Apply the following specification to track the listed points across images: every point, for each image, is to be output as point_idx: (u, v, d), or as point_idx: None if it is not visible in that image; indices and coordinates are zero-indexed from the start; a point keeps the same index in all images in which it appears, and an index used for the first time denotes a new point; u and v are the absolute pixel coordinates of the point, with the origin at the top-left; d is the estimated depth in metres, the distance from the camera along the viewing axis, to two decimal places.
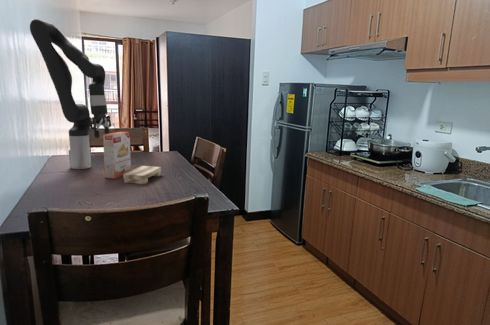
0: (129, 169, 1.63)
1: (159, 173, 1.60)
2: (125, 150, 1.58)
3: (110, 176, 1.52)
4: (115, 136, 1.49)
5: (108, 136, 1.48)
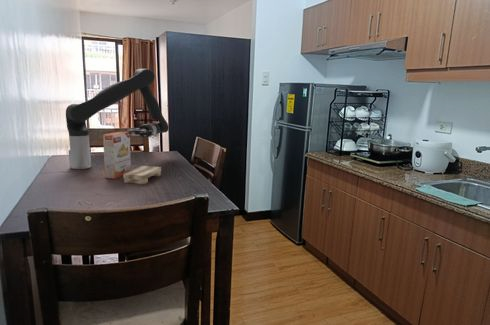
0: (129, 169, 1.63)
1: (159, 173, 1.60)
2: (125, 150, 1.58)
3: (110, 176, 1.52)
4: (115, 136, 1.49)
5: (108, 136, 1.48)
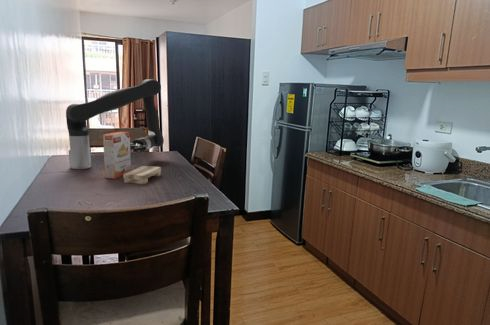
0: (129, 169, 1.63)
1: (159, 173, 1.60)
2: (125, 150, 1.58)
3: (110, 176, 1.52)
4: (115, 136, 1.49)
5: (108, 136, 1.48)
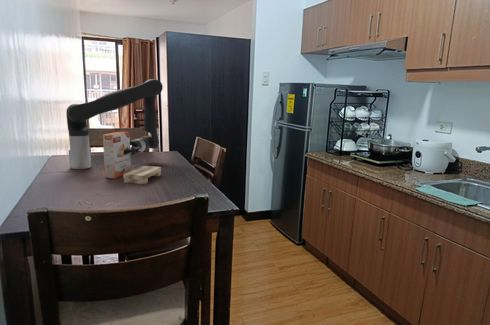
0: (129, 169, 1.63)
1: (159, 173, 1.60)
2: None
3: (110, 176, 1.52)
4: (115, 136, 1.49)
5: (108, 136, 1.48)
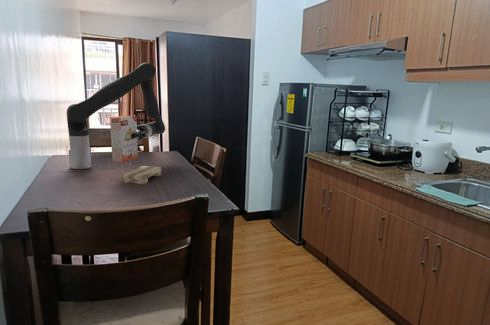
0: (136, 154, 1.61)
1: (159, 173, 1.60)
2: None
3: (118, 160, 1.50)
4: (122, 119, 1.46)
5: (115, 119, 1.45)
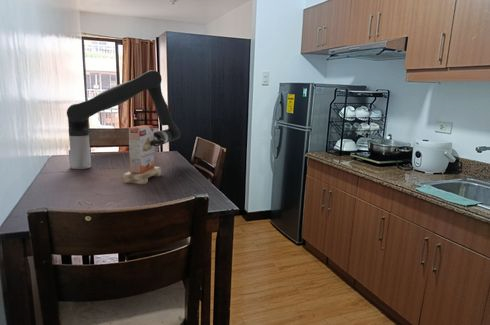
0: (153, 164, 1.59)
1: (159, 173, 1.60)
2: (150, 144, 1.53)
3: (136, 171, 1.47)
4: (141, 129, 1.44)
5: (134, 129, 1.43)
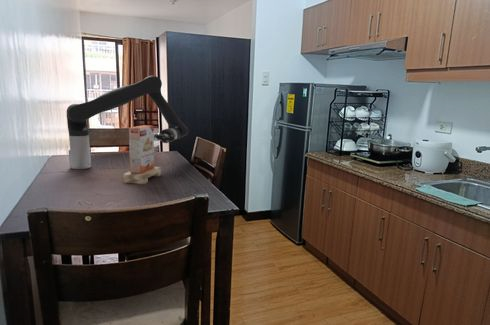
0: (153, 164, 1.59)
1: (159, 173, 1.60)
2: (150, 144, 1.53)
3: (136, 171, 1.47)
4: (141, 129, 1.44)
5: (134, 129, 1.43)
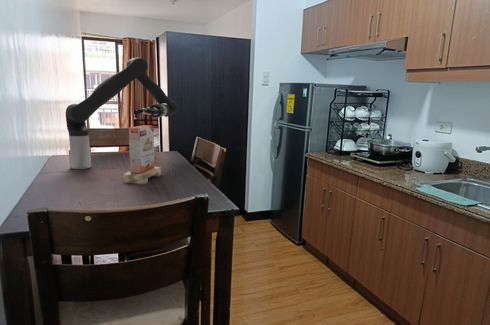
0: (153, 164, 1.59)
1: (159, 173, 1.60)
2: (150, 144, 1.53)
3: (136, 171, 1.47)
4: (141, 129, 1.44)
5: (134, 129, 1.43)
